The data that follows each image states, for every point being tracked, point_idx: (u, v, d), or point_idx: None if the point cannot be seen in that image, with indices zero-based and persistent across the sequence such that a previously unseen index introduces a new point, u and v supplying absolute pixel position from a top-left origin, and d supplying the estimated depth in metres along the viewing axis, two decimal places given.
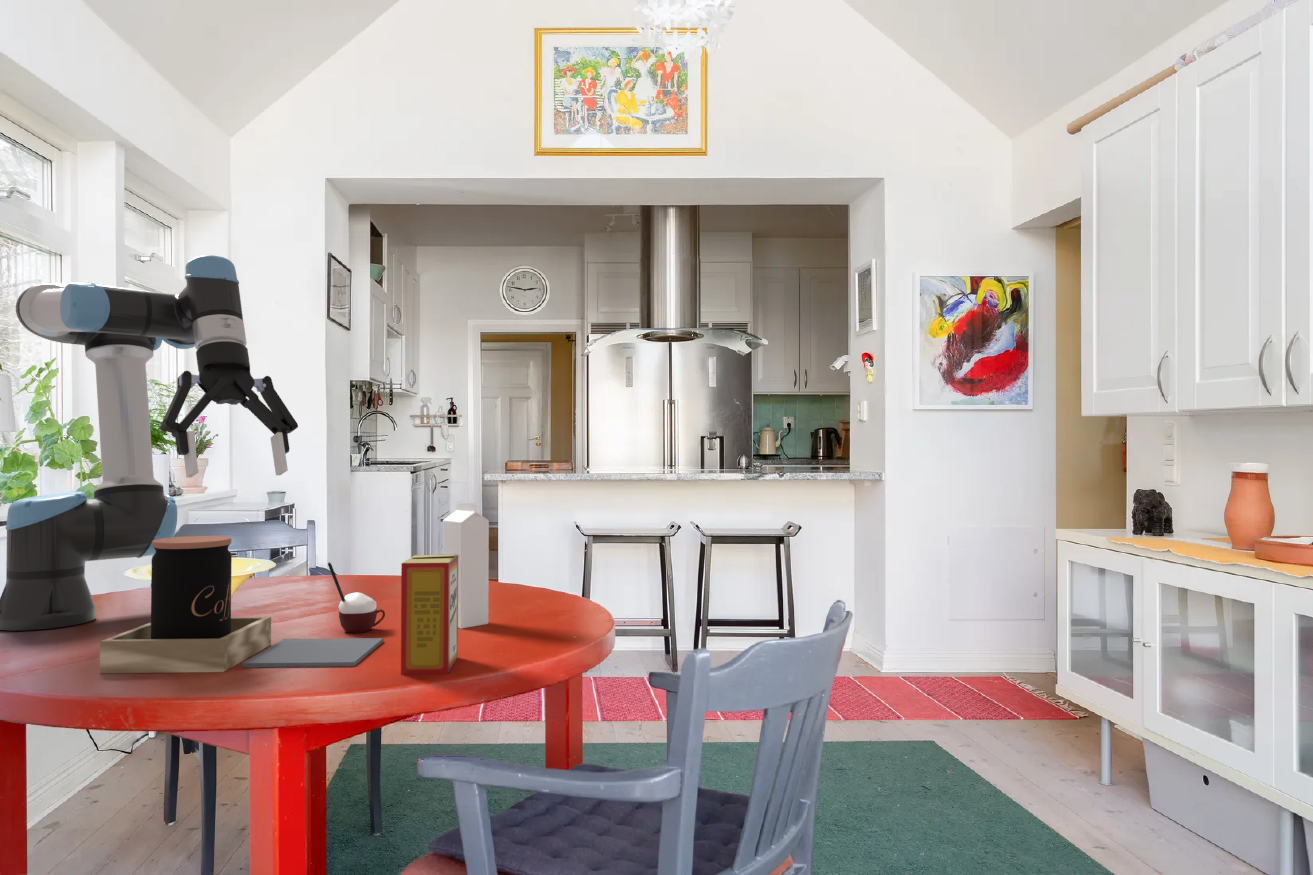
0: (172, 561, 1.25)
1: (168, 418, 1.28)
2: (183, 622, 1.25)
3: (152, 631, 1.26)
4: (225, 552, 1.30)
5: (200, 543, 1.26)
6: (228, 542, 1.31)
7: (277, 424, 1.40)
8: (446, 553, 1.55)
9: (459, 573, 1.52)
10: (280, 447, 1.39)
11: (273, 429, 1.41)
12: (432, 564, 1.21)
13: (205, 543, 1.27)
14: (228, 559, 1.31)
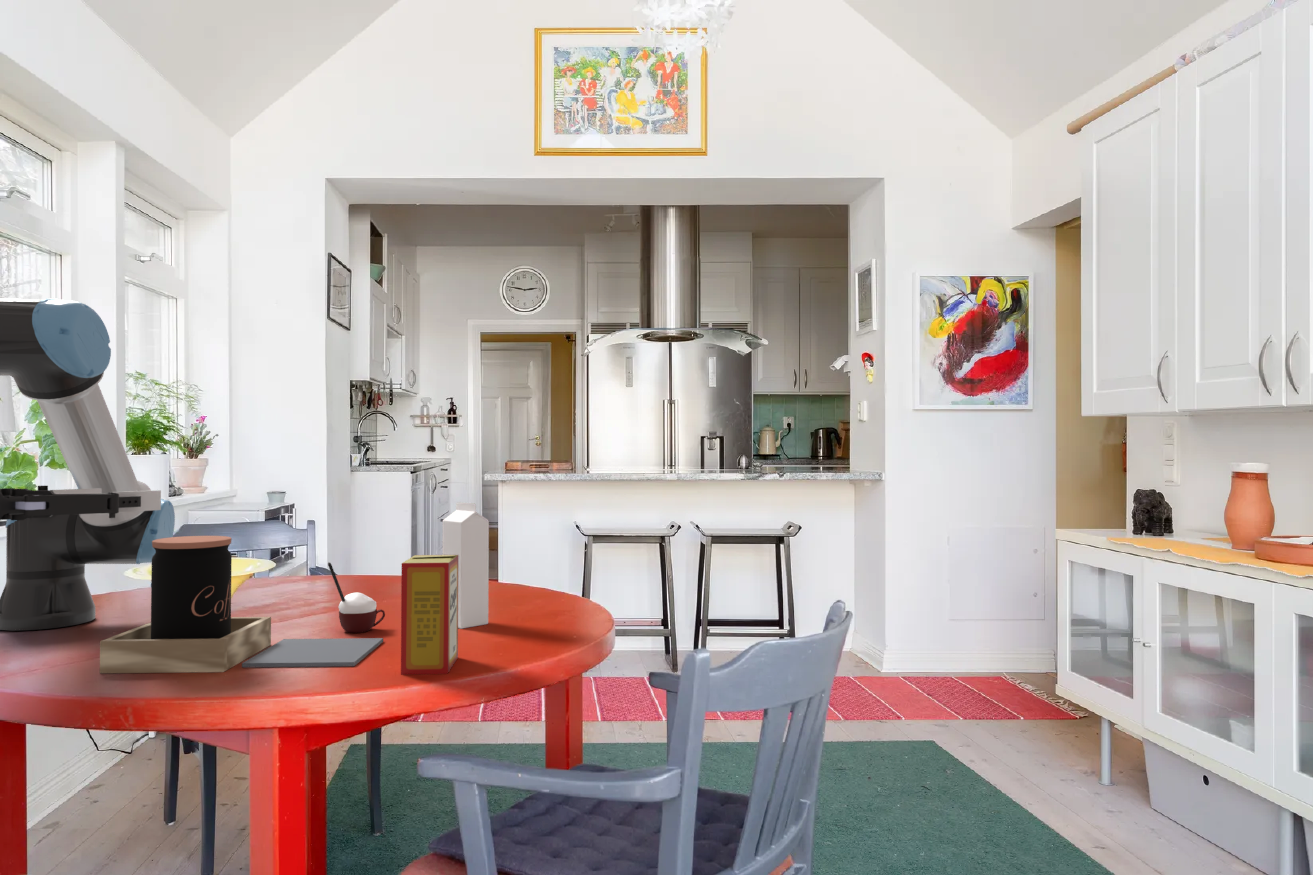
0: (172, 561, 1.25)
1: None
2: (183, 622, 1.25)
3: (152, 631, 1.26)
4: (225, 552, 1.30)
5: (200, 543, 1.26)
6: (228, 542, 1.31)
7: None
8: (446, 553, 1.55)
9: (459, 573, 1.52)
10: None
11: None
12: (432, 564, 1.21)
13: (205, 543, 1.27)
14: (228, 559, 1.31)
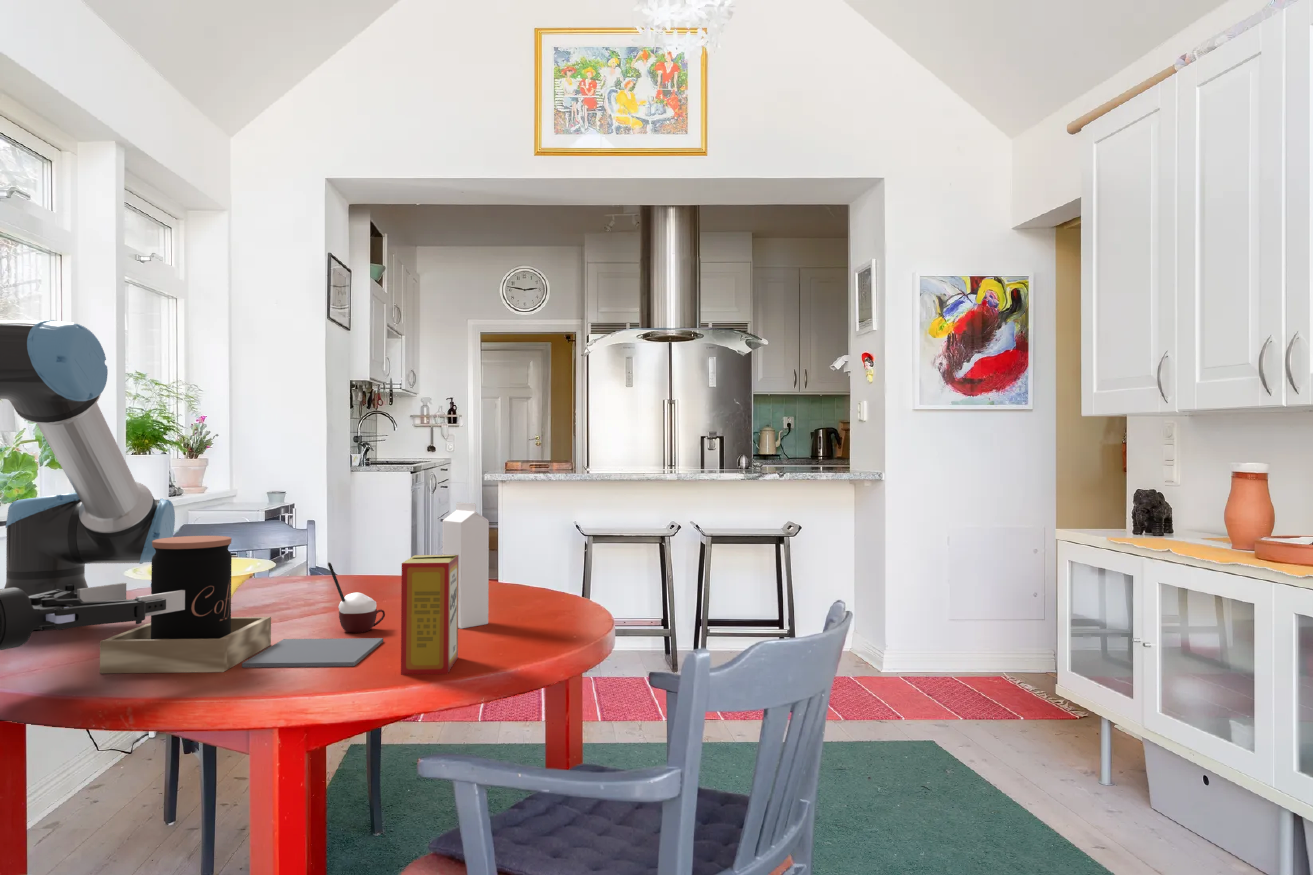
0: (172, 561, 1.25)
1: None
2: (183, 622, 1.25)
3: (152, 631, 1.26)
4: (225, 552, 1.30)
5: (200, 543, 1.26)
6: (228, 542, 1.31)
7: None
8: (446, 553, 1.55)
9: (459, 573, 1.52)
10: None
11: None
12: (432, 564, 1.21)
13: (205, 543, 1.27)
14: (228, 559, 1.31)
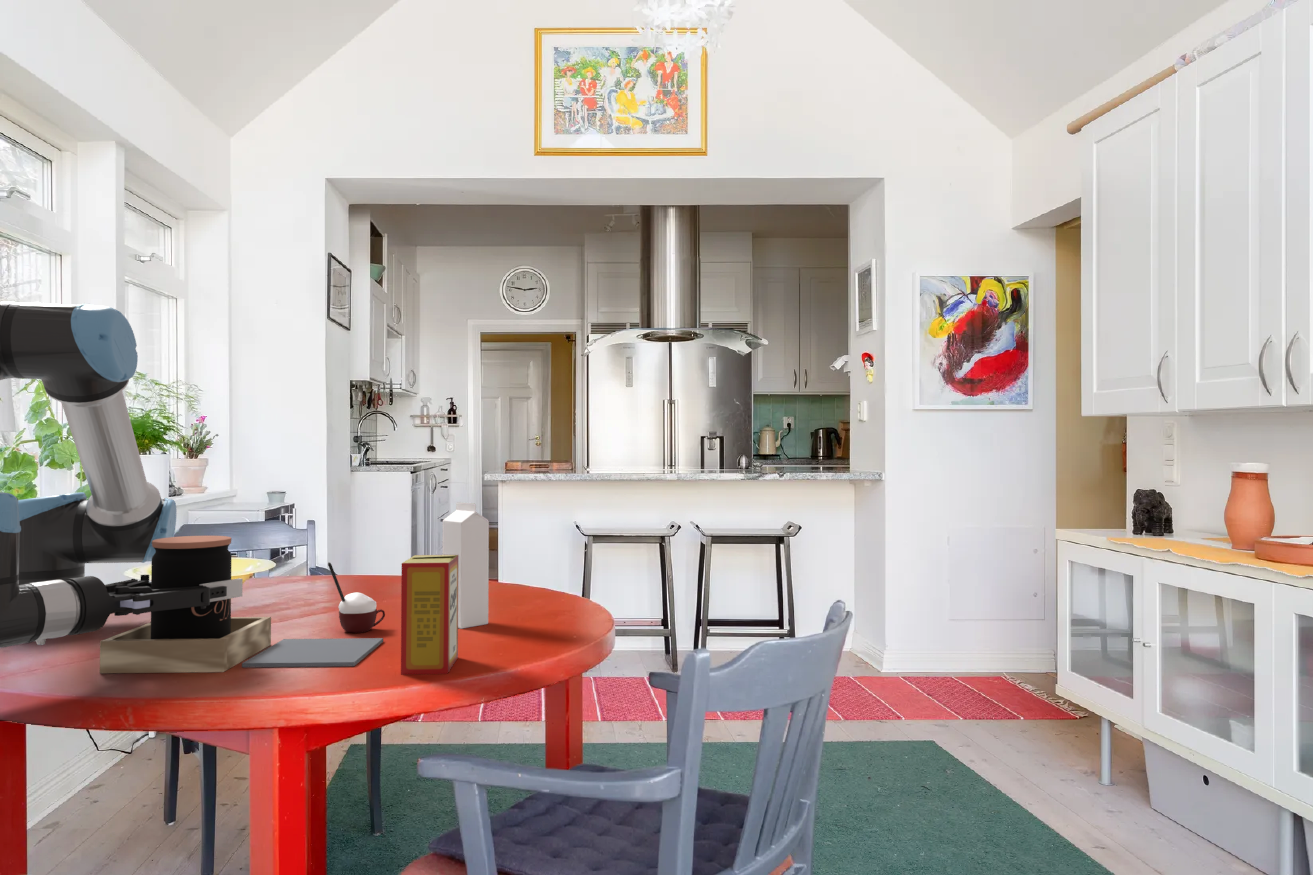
0: (172, 561, 1.25)
1: None
2: (183, 622, 1.25)
3: (152, 631, 1.26)
4: (225, 552, 1.30)
5: (200, 543, 1.26)
6: (228, 542, 1.31)
7: None
8: (446, 553, 1.55)
9: (459, 573, 1.52)
10: None
11: None
12: (432, 564, 1.21)
13: (205, 543, 1.27)
14: (228, 559, 1.31)
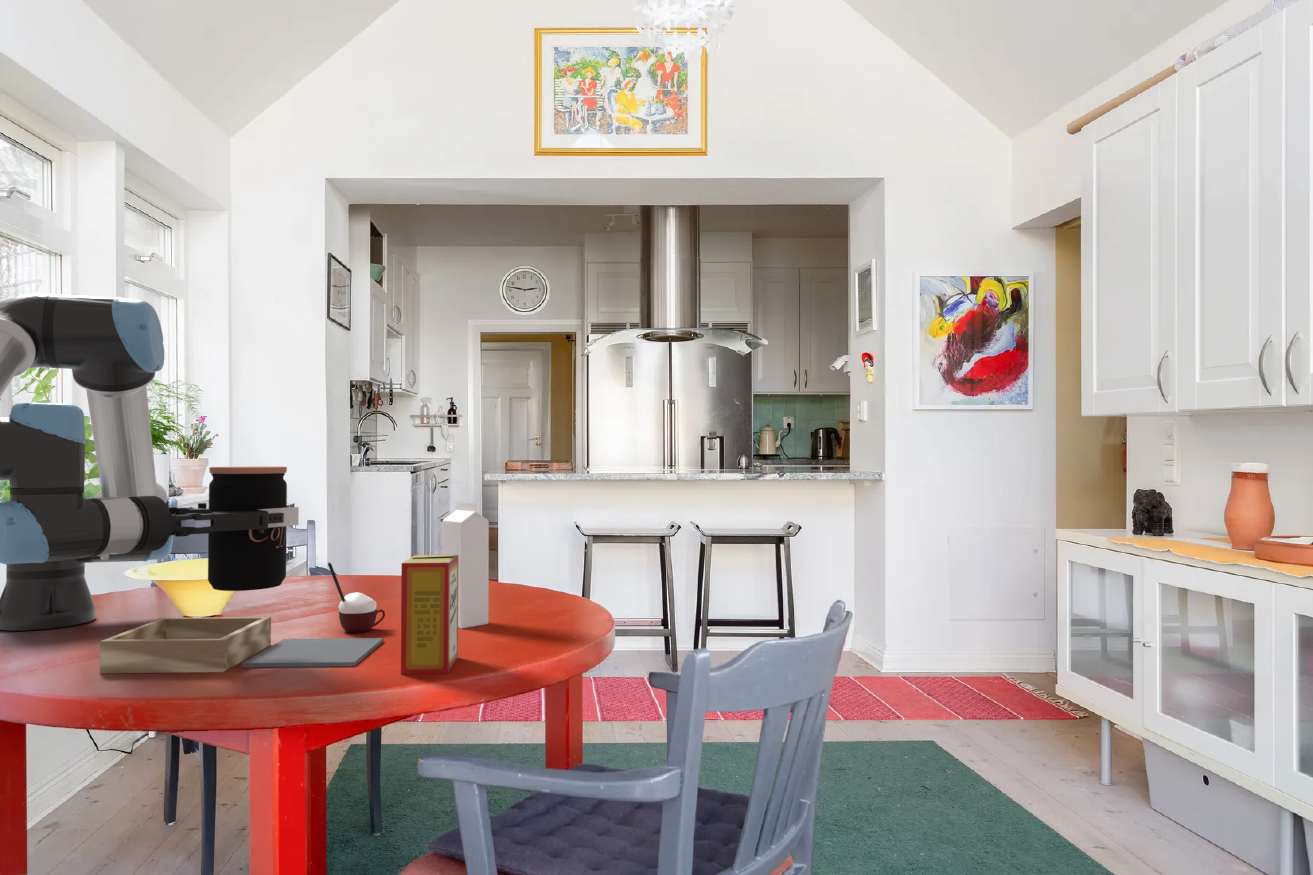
0: (230, 486, 1.25)
1: None
2: (241, 547, 1.25)
3: (210, 557, 1.26)
4: (281, 480, 1.30)
5: (257, 468, 1.26)
6: (284, 470, 1.30)
7: None
8: (446, 553, 1.55)
9: (459, 573, 1.52)
10: (273, 526, 1.28)
11: None
12: (432, 564, 1.21)
13: (262, 469, 1.26)
14: (284, 487, 1.30)
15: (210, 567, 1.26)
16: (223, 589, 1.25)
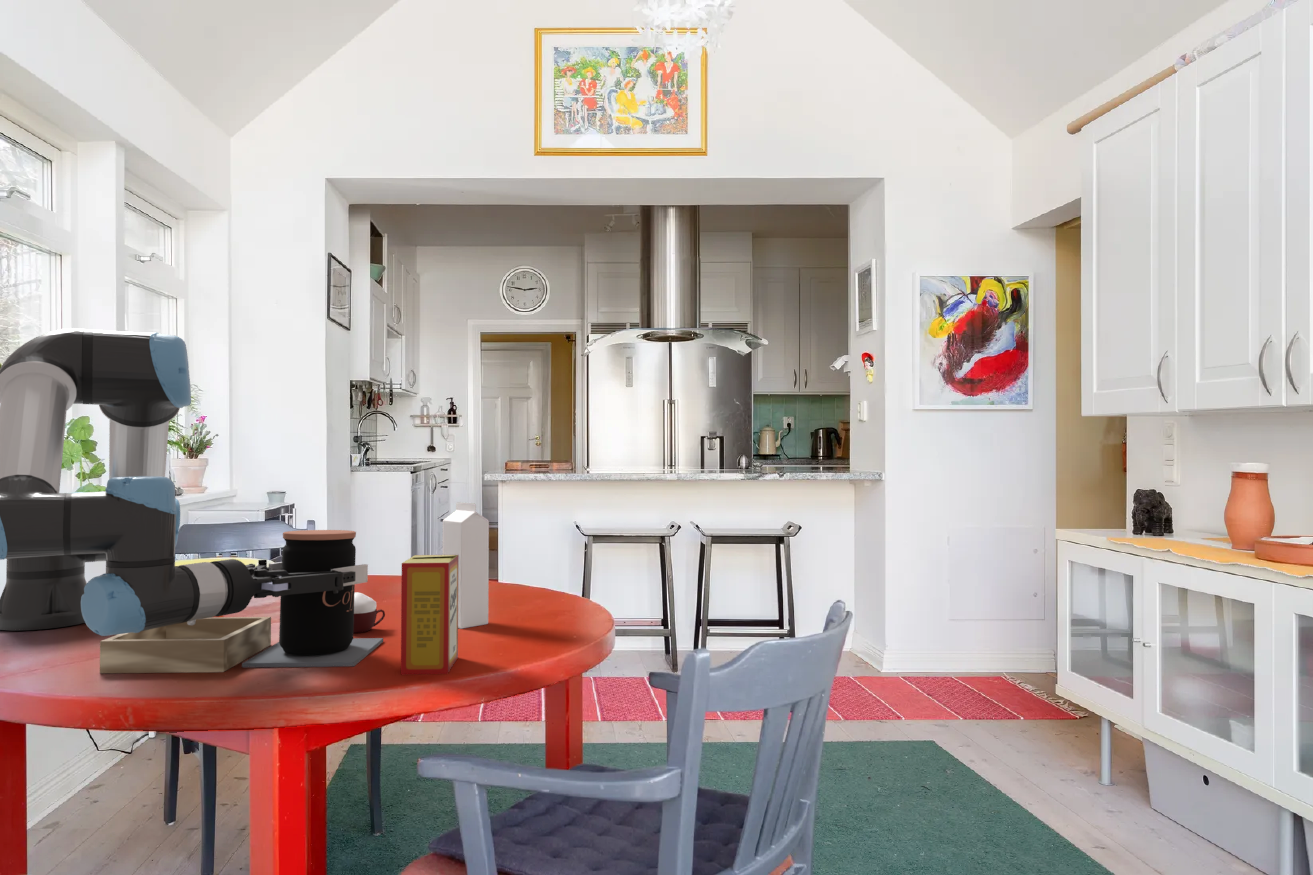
0: (305, 552, 1.28)
1: None
2: (315, 612, 1.28)
3: (283, 621, 1.29)
4: (352, 545, 1.34)
5: (331, 535, 1.30)
6: (354, 535, 1.34)
7: None
8: (446, 553, 1.55)
9: (459, 573, 1.52)
10: None
11: None
12: (432, 564, 1.21)
13: (336, 535, 1.30)
14: (354, 552, 1.34)
15: (283, 631, 1.29)
16: (296, 653, 1.28)
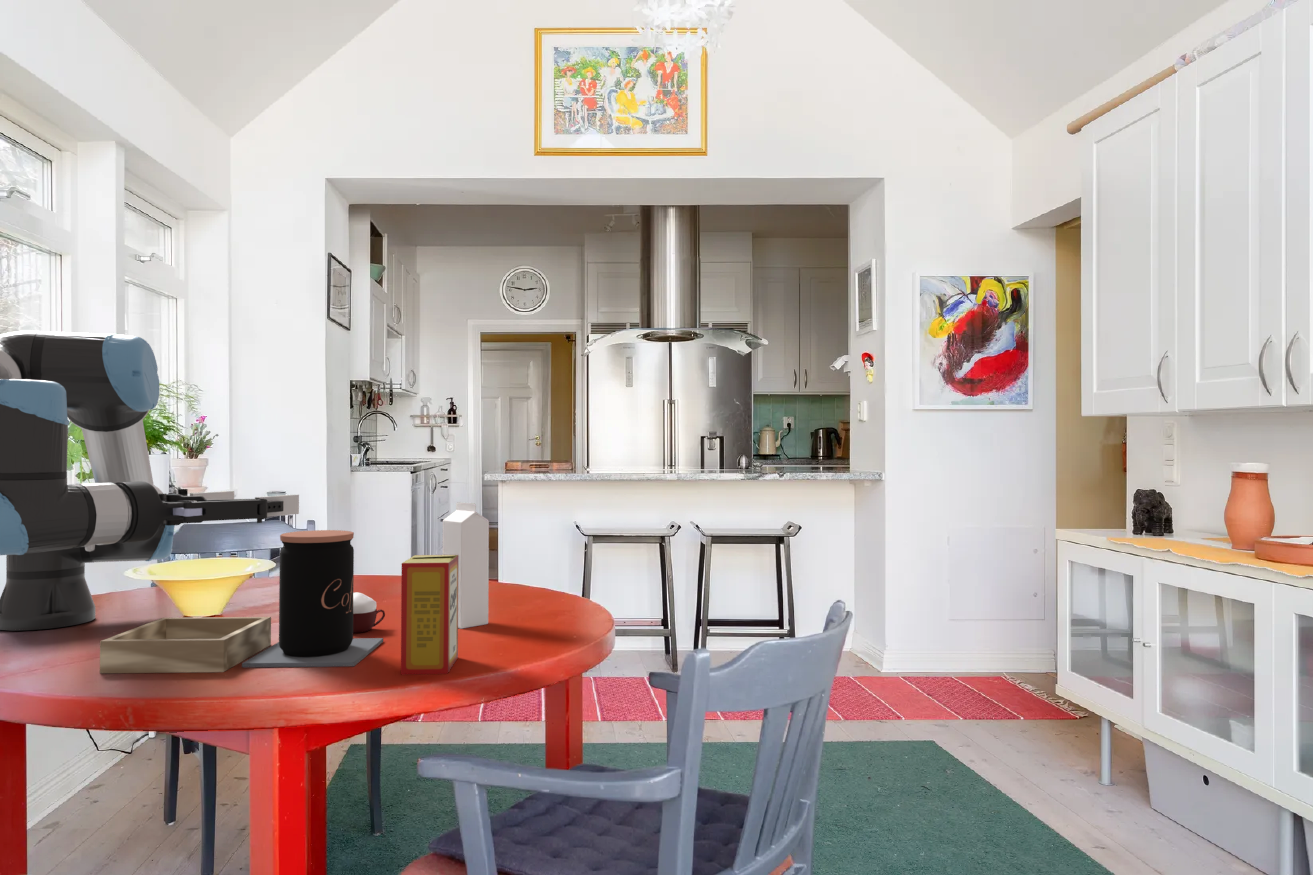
0: (303, 555, 1.28)
1: None
2: (314, 614, 1.28)
3: (282, 623, 1.29)
4: (350, 546, 1.33)
5: (329, 537, 1.29)
6: (352, 536, 1.33)
7: None
8: (446, 553, 1.55)
9: (459, 573, 1.52)
10: (272, 515, 1.18)
11: None
12: (432, 564, 1.21)
13: (334, 537, 1.29)
14: (352, 553, 1.33)
15: (282, 633, 1.29)
16: (296, 655, 1.28)
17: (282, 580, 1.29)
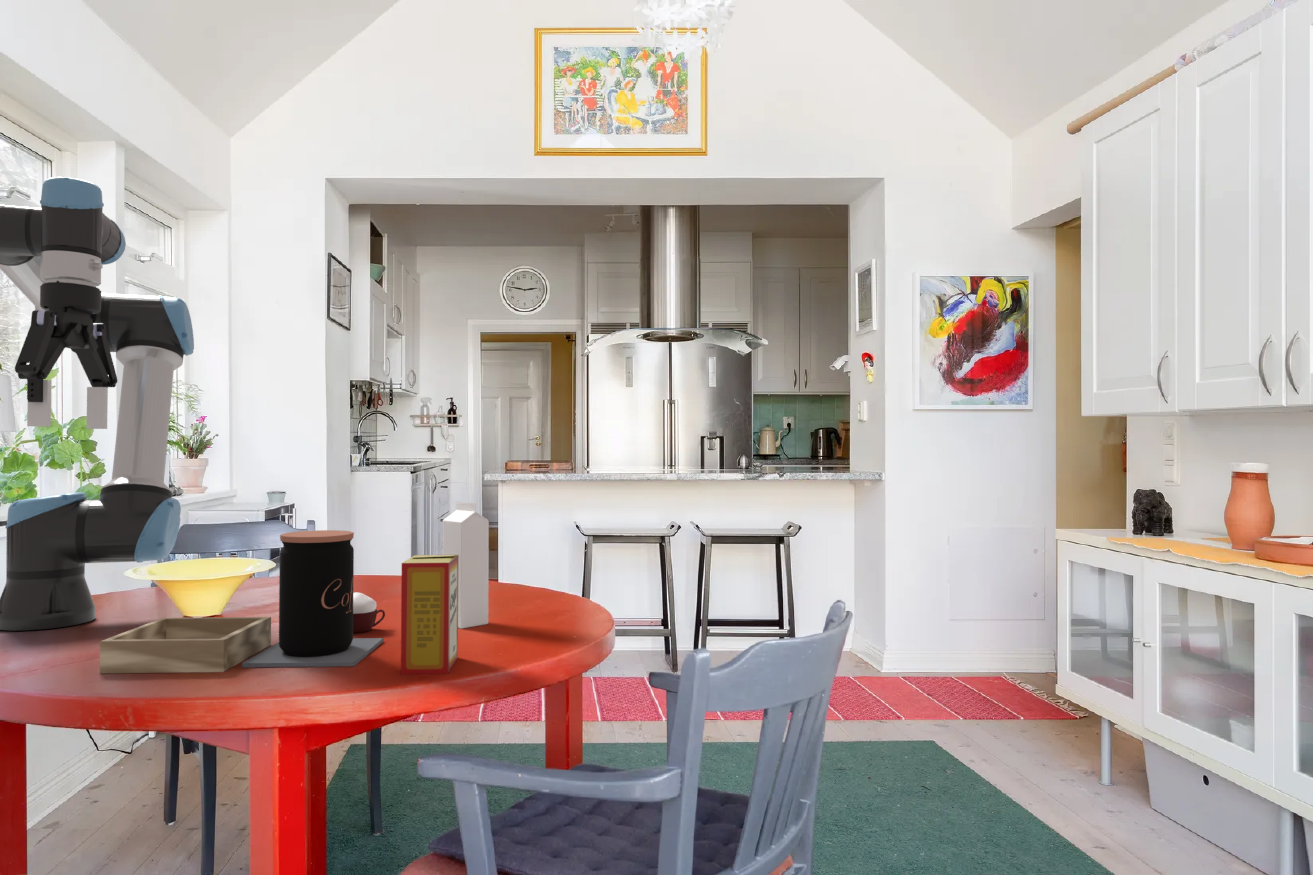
0: (303, 555, 1.28)
1: (35, 364, 1.18)
2: (314, 614, 1.28)
3: (282, 623, 1.29)
4: (350, 546, 1.33)
5: (329, 537, 1.29)
6: (352, 536, 1.34)
7: (104, 378, 1.34)
8: (446, 553, 1.55)
9: (459, 573, 1.52)
10: (105, 403, 1.34)
11: (92, 379, 1.34)
12: (432, 564, 1.21)
13: (333, 537, 1.29)
14: (352, 553, 1.33)
15: (282, 633, 1.29)
16: (296, 655, 1.28)
17: (282, 580, 1.29)
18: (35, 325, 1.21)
